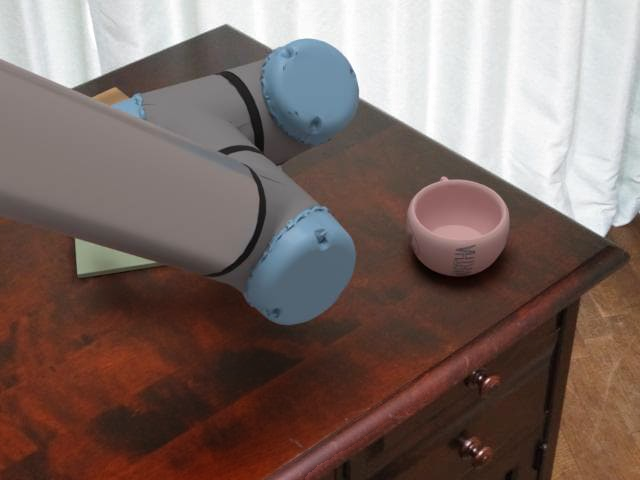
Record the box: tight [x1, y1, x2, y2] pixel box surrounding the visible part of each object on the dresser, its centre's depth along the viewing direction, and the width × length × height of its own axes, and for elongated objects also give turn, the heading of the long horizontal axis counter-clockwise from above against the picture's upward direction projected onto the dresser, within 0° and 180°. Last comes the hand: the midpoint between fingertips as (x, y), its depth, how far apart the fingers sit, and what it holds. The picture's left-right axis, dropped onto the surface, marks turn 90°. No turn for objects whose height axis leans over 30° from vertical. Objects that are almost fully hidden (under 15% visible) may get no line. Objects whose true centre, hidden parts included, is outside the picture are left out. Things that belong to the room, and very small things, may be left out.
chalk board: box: [74, 238, 165, 279], centre depth 121 cm, size 22×12×1 cm, turn 11°
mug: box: [405, 176, 511, 277], centre depth 113 cm, size 12×10×6 cm
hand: (156, 190), depth 114 cm, fingers open, 13 cm apart
